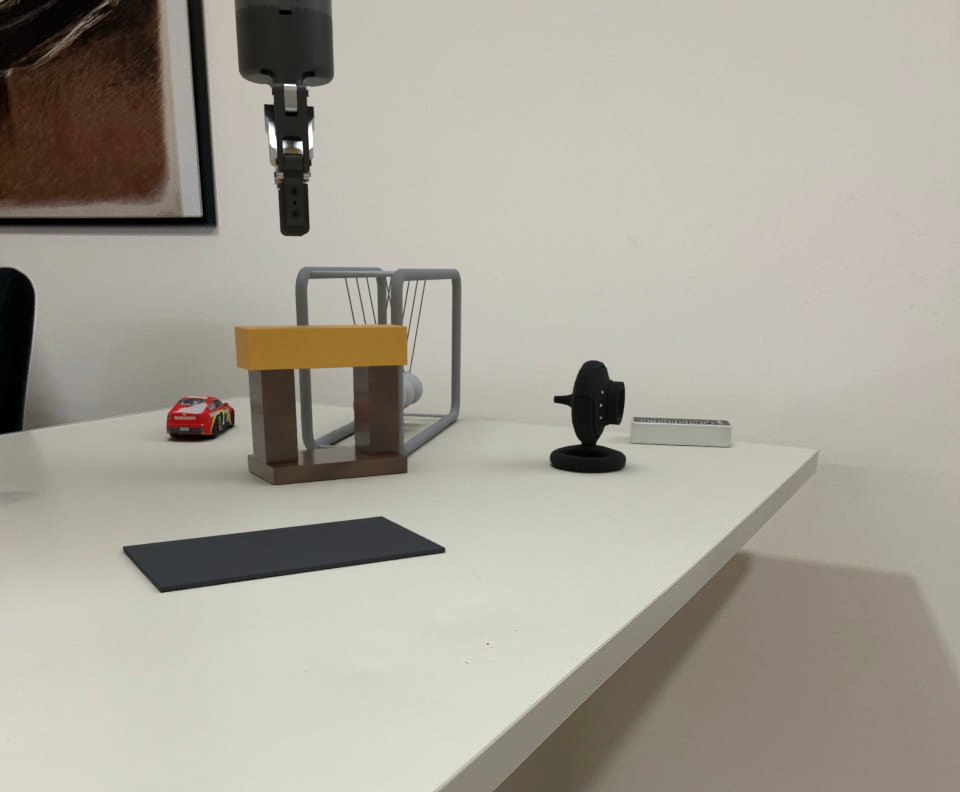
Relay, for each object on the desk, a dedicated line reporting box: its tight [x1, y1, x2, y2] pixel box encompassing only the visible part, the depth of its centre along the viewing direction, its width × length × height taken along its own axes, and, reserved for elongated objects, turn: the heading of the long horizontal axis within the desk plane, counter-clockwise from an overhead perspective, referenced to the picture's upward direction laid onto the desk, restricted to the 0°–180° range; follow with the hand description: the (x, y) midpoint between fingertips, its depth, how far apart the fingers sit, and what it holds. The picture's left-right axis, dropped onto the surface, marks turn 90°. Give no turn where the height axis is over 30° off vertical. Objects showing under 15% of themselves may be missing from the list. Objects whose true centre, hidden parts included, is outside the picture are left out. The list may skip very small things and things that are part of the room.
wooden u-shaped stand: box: [247, 366, 408, 486], centre depth 90 cm, size 13×7×10 cm, turn 121°
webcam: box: [549, 359, 627, 473], centre depth 95 cm, size 8×8×10 cm
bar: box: [233, 323, 409, 371], centre depth 87 cm, size 15×3×3 cm, turn 121°
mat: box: [122, 515, 446, 593], centre depth 66 cm, size 19×10×1 cm, turn 121°
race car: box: [165, 395, 236, 439], centre depth 110 cm, size 13×5×4 cm, turn 178°
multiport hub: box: [629, 416, 733, 448], centre depth 110 cm, size 4×11×2 cm, turn 83°
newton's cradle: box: [294, 266, 462, 456], centre depth 108 cm, size 30×10×18 cm, turn 170°
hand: (294, 235), depth 83 cm, fingers open, 8 cm apart
